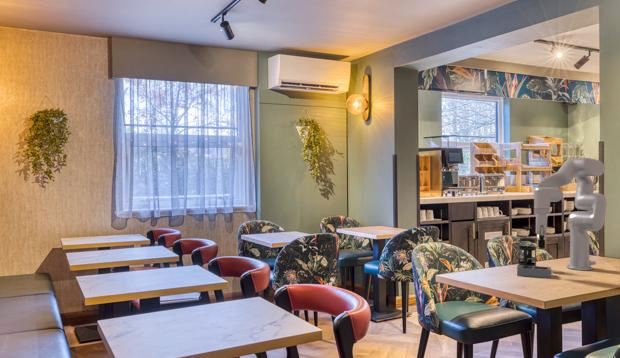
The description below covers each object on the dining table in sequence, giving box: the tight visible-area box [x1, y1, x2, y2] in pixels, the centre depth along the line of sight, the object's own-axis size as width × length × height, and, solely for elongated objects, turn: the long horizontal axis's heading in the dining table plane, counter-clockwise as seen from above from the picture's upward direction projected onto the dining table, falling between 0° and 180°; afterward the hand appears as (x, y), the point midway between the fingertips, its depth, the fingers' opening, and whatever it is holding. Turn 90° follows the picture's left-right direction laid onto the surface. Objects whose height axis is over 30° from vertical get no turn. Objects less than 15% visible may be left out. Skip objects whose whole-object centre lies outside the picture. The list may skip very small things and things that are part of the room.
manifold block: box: [516, 264, 552, 279], centre depth 268 cm, size 16×10×4 cm, turn 67°
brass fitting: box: [536, 233, 547, 251], centre depth 267 cm, size 4×4×8 cm
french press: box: [518, 226, 537, 266], centre depth 287 cm, size 12×9×23 cm
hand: (541, 246), depth 267 cm, fingers closed on brass fitting, 4 cm apart
